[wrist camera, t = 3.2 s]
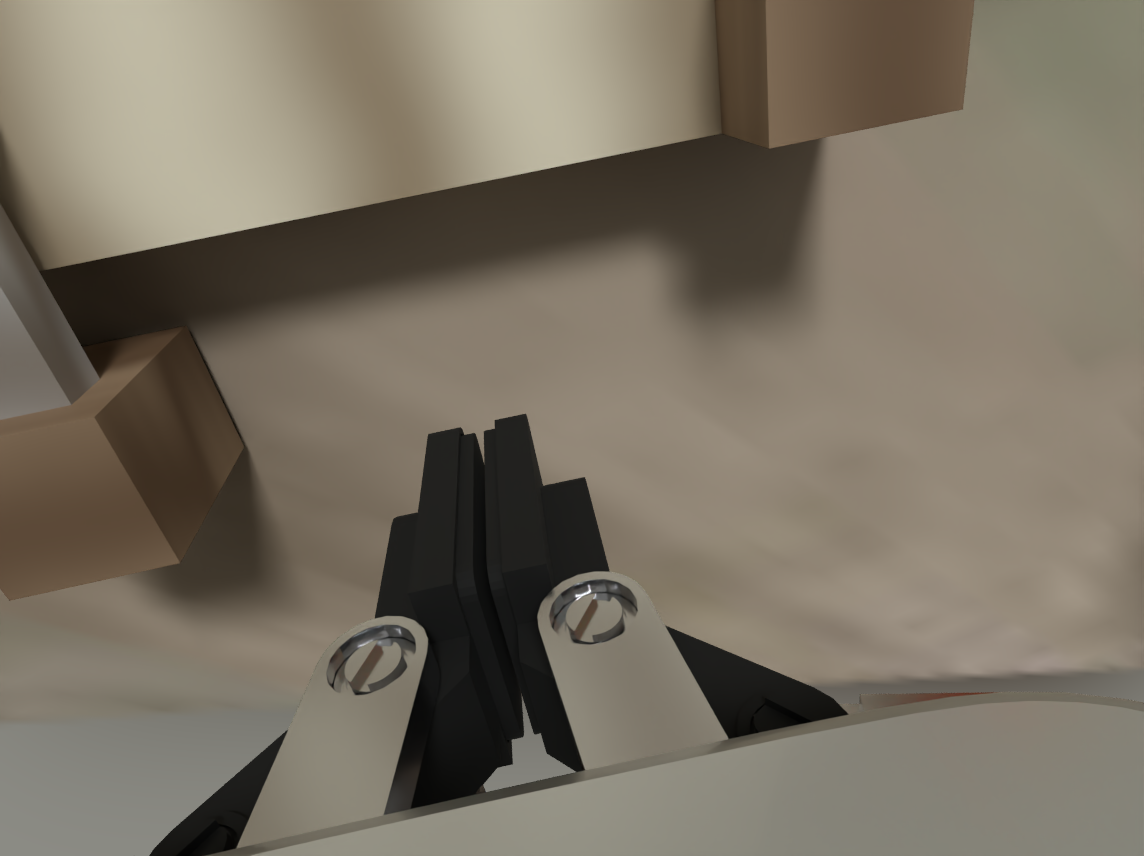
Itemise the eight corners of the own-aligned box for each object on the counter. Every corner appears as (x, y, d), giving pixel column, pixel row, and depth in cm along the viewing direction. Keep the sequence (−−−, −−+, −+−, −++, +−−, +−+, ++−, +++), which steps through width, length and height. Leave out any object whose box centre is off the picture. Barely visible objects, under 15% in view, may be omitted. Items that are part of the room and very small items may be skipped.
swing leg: (-148, 42, 13) (-428, 39, 9) (34, 7, 13) (-159, -11, 9) (112, 475, 18) (9, 600, 14) (244, 447, 18) (179, 563, 14)
